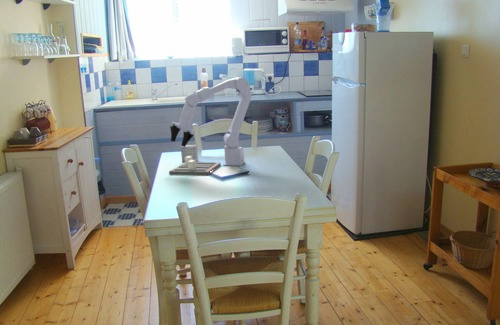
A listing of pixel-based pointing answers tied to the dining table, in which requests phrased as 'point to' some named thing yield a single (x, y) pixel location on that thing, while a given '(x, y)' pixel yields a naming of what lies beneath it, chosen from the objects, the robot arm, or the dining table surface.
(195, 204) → the dining table surface
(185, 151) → the medicine box
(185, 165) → the breaker panel
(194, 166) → the block
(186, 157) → the block
